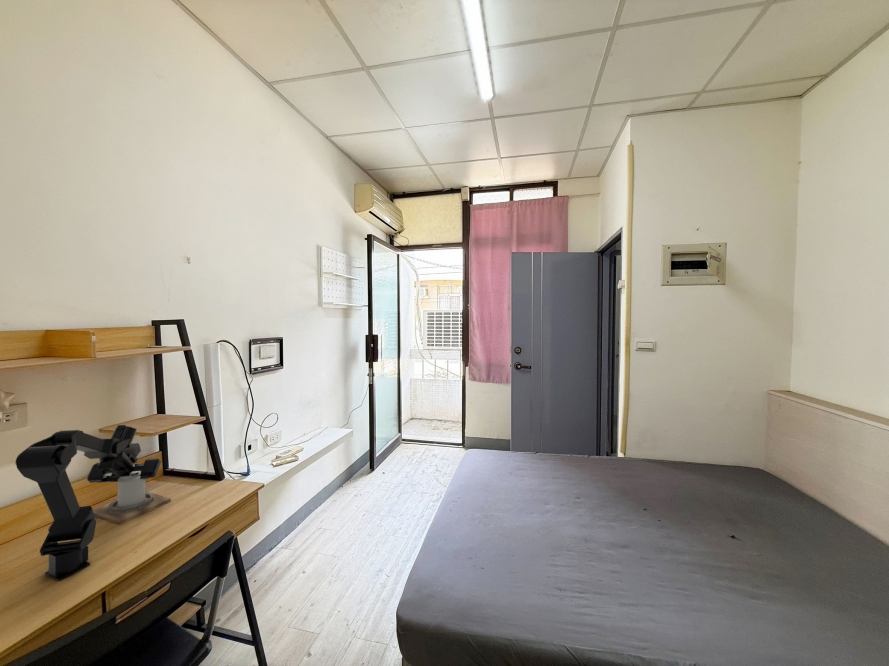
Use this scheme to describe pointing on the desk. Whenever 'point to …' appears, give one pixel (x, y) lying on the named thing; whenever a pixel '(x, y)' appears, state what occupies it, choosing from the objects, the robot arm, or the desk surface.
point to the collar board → (132, 514)
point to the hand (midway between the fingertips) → (134, 479)
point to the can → (131, 490)
